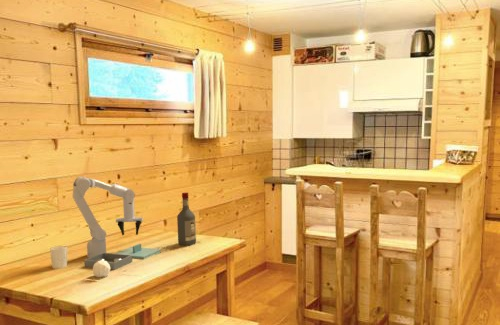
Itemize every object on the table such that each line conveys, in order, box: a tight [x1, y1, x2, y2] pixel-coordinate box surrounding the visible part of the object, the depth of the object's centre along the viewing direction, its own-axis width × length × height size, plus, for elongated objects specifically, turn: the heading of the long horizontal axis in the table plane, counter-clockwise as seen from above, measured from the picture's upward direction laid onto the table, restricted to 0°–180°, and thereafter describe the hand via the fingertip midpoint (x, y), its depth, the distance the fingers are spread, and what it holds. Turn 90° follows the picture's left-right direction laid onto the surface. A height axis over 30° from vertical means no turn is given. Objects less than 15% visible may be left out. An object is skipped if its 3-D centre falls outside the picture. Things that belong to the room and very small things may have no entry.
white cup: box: [49, 245, 68, 269], centre depth 228 cm, size 8×8×10 cm
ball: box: [92, 260, 111, 278], centre depth 211 cm, size 8×8×8 cm
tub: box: [83, 252, 133, 271], centre depth 229 cm, size 18×14×4 cm
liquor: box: [176, 192, 197, 247], centre depth 268 cm, size 9×9×30 cm
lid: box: [114, 243, 161, 260], centre depth 248 cm, size 19×15×5 cm
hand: (130, 234), depth 255 cm, fingers open, 7 cm apart
